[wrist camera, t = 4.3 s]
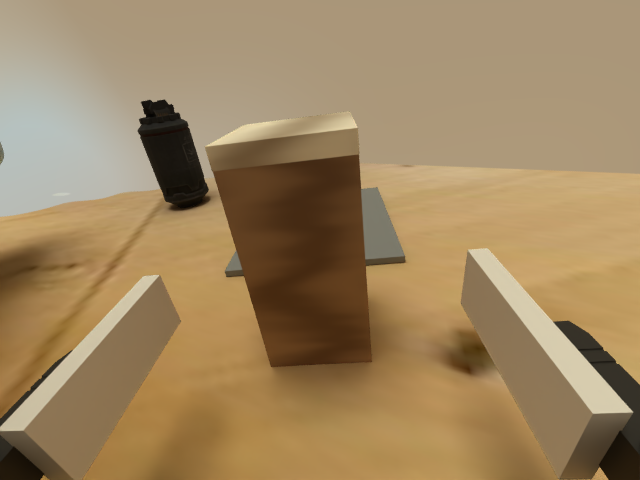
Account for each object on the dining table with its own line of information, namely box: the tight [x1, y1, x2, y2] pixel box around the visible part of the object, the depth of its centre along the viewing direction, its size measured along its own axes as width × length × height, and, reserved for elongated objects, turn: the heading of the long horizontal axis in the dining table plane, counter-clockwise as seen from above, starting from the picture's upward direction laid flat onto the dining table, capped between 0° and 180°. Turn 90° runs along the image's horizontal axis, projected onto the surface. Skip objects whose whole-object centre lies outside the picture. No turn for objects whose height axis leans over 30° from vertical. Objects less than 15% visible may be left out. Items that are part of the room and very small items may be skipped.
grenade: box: [138, 100, 209, 208], centre depth 44 cm, size 7×7×15 cm
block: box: [205, 111, 372, 367], centre depth 17 cm, size 6×6×13 cm
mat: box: [225, 188, 405, 277], centre depth 34 cm, size 16×18×1 cm
